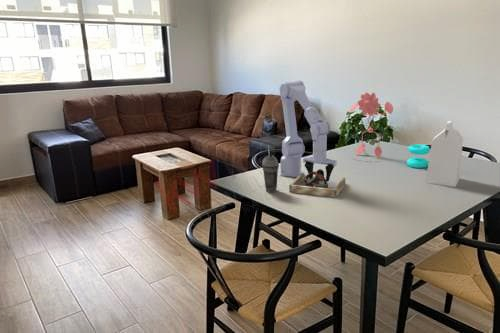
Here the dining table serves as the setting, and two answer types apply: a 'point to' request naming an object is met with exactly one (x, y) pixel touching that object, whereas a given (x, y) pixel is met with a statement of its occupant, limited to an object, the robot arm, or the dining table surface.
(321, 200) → the dining table surface
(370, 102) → the pink flower ornament
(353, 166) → the dining table surface
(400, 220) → the dining table surface
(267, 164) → the beverage cup
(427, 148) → the donuts
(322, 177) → the brown piece
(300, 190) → the wooden tray
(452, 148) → the milk
